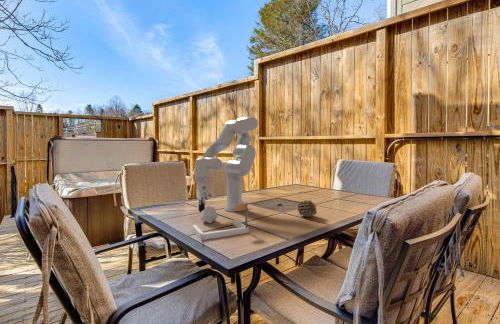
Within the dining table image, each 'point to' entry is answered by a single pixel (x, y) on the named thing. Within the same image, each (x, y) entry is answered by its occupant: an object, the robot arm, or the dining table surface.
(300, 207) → the pine cone
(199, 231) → the white stand base
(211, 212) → the die
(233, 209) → the robot arm
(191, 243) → the dining table surface
